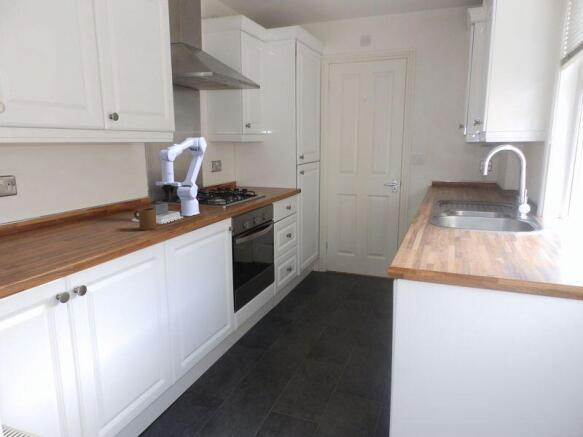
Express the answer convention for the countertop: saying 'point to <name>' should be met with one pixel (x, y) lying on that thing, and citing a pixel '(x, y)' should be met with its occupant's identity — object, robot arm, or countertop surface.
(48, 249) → the countertop surface
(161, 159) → the robot arm
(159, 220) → the rack
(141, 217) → the mug
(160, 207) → the panel
